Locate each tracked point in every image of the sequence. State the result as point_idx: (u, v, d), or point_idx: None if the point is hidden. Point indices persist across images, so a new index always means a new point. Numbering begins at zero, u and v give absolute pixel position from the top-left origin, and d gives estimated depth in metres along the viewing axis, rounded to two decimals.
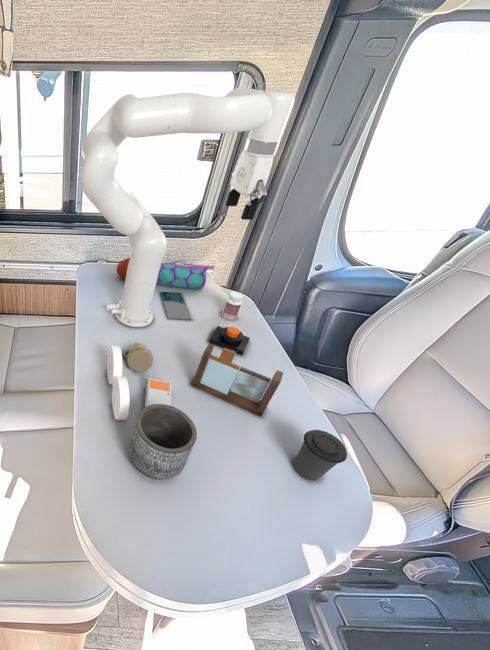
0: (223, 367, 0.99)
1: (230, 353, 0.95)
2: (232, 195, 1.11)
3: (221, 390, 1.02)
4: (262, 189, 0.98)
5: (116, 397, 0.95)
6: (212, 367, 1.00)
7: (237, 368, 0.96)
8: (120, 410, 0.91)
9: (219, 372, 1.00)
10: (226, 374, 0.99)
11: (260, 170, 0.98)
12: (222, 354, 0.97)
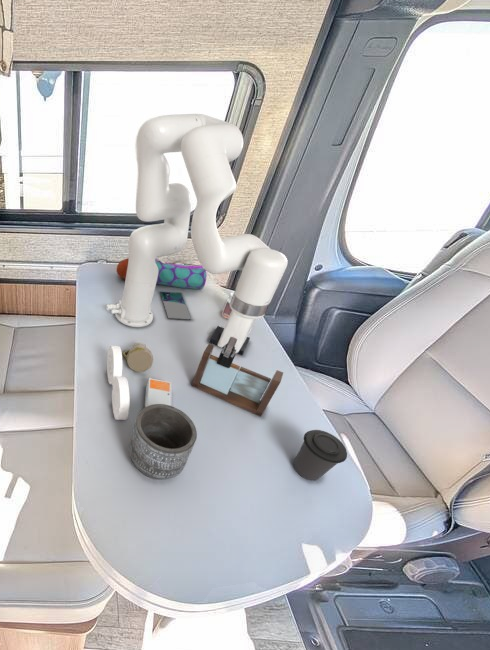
0: (223, 367, 0.99)
1: None
2: None
3: (221, 390, 1.02)
4: (226, 351, 0.90)
5: (116, 397, 0.95)
6: (212, 367, 1.00)
7: (237, 368, 0.96)
8: (120, 410, 0.91)
9: (219, 372, 1.00)
10: (226, 374, 0.99)
11: (232, 327, 0.87)
12: None
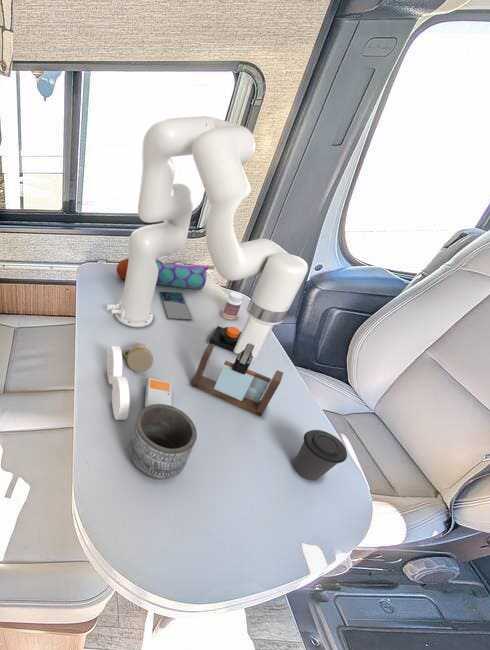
0: (238, 373, 0.97)
1: None
2: None
3: (235, 396, 1.01)
4: (242, 357, 0.89)
5: (116, 397, 0.95)
6: (226, 373, 0.99)
7: (253, 374, 0.95)
8: (120, 410, 0.91)
9: (234, 378, 0.98)
10: (241, 380, 0.97)
11: (250, 334, 0.85)
12: None
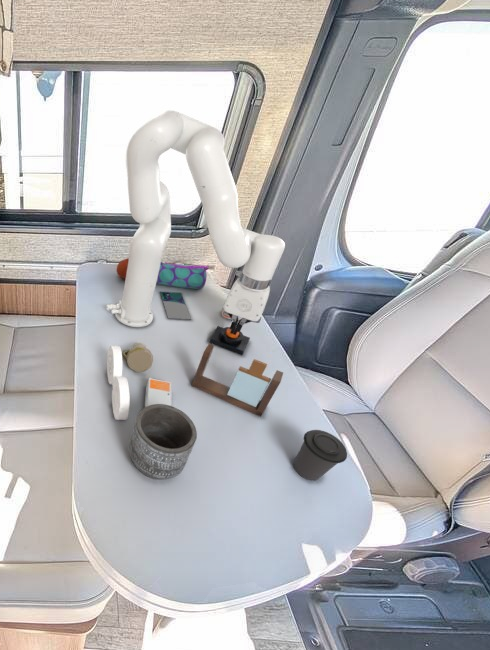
0: (253, 379, 0.95)
1: (261, 365, 0.92)
2: (236, 324, 1.17)
3: (250, 402, 0.99)
4: (260, 318, 1.12)
5: (116, 397, 0.95)
6: (241, 379, 0.97)
7: (268, 381, 0.93)
8: (120, 410, 0.91)
9: (248, 384, 0.97)
10: (256, 386, 0.96)
11: None
12: (252, 366, 0.94)
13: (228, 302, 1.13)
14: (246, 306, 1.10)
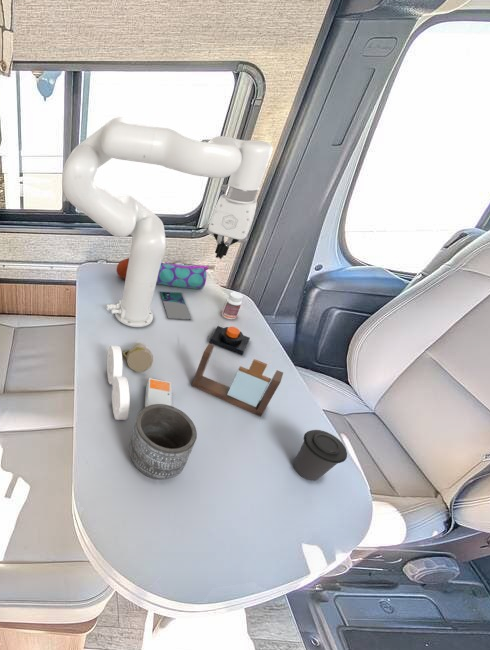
0: (253, 379, 0.95)
1: (261, 365, 0.92)
2: None
3: (250, 402, 0.99)
4: (246, 237, 1.06)
5: (116, 397, 0.95)
6: (241, 379, 0.97)
7: (268, 381, 0.93)
8: (120, 410, 0.91)
9: (248, 384, 0.97)
10: (256, 386, 0.96)
11: (253, 214, 1.02)
12: (252, 366, 0.94)
13: (213, 220, 1.07)
14: (232, 223, 1.04)
